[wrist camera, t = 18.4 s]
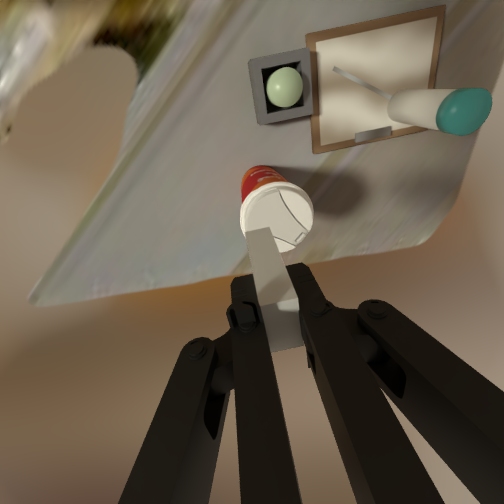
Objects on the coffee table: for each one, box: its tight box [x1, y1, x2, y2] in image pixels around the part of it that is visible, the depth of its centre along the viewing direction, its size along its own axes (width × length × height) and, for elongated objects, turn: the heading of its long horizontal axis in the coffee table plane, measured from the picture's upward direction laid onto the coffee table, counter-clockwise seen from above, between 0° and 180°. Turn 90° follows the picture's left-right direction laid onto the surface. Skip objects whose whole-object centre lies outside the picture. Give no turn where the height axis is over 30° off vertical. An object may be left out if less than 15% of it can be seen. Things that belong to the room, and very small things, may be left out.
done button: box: [265, 67, 303, 107], centre depth 33 cm, size 4×4×4 cm
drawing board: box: [305, 4, 446, 154], centre depth 35 cm, size 14×17×2 cm
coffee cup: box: [240, 165, 314, 253], centre depth 35 cm, size 8×8×15 cm
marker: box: [387, 88, 492, 136], centre depth 32 cm, size 4×4×12 cm
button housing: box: [248, 47, 313, 125], centre depth 34 cm, size 7×7×3 cm
